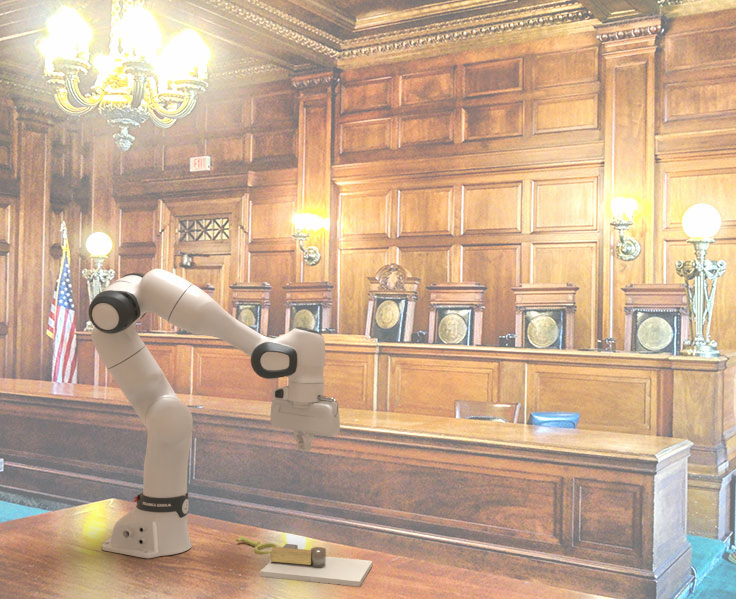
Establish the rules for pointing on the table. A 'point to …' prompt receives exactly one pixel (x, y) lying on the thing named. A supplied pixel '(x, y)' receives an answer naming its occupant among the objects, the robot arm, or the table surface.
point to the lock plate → (321, 570)
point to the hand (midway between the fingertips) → (303, 449)
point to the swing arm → (299, 556)
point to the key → (257, 545)
